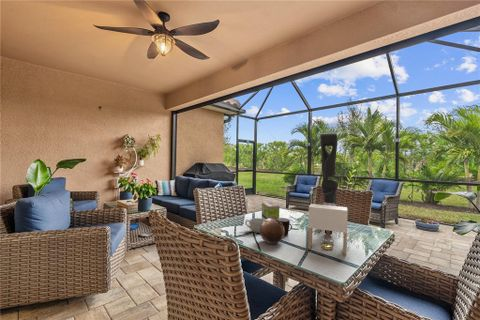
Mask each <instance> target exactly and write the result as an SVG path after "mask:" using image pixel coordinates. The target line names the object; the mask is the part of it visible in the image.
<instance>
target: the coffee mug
mask: <svg viewBox="0 0 480 320" xmlns="http://www.w3.org/2000/svg"><path fill="white" fill-rule="evenodd" d="M278 220H279V221H280V222H281V223H282V224H283V226H284V230H285V233H284V237H287V236H289V232H290V231H292V229H293V226H292V224H291V219H290V218H287V217H286V218H285V217H279V218H278Z"/></svg>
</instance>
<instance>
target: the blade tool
mask: <svg viewBox="0 0 480 320" xmlns="http://www.w3.org/2000/svg"><path fill="white" fill-rule="evenodd" d="M332 237H333V236H332V235H330V231H329V230H326V233H325V234H324V237H323V239H321V242H320V244H321V245H322V244H330V245H332V246H334V244H335V241H334V240H332V239H333V238H332Z"/></svg>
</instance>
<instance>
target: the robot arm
mask: <svg viewBox="0 0 480 320" xmlns="http://www.w3.org/2000/svg"><path fill="white" fill-rule="evenodd" d="M319 139H320V149H321V150H320V152H321V174H322V175H321V176H322V178H321V180H322V181H321V184H320V185H321V191H322V193H323V204H322V205H329V206H337V197H338V188H339V181H338V180H336V179H330V177H335V175H336V160H337V150H338V141H339V140H338V133H336V132H323V133H321V134H320V138H319ZM327 147H331V151H330V152H329V151H328V148H327ZM324 234H326V230H324ZM332 235H333V231H330V236H332Z"/></svg>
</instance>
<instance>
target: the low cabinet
mask: <svg viewBox="0 0 480 320" xmlns="http://www.w3.org/2000/svg"><path fill="white" fill-rule="evenodd" d="M313 229H314V230H321V231H322V230H323V231H325V230H329V231H332V232H336V233H337V232H338V233H343V236H342V237H343V239H342V240H343V241H342V242H343V243H342V251H343V255H344V256H347V249H348V245H347V243H348V240H347V239H348V207H347V206H337V205H336V206H329V205H323V204H319V203H318V204H316V203H310V205H309V206H308V235H307V236H308V237H307V239H308V240H307V249H308V250H311V249H312V245H313Z"/></svg>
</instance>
